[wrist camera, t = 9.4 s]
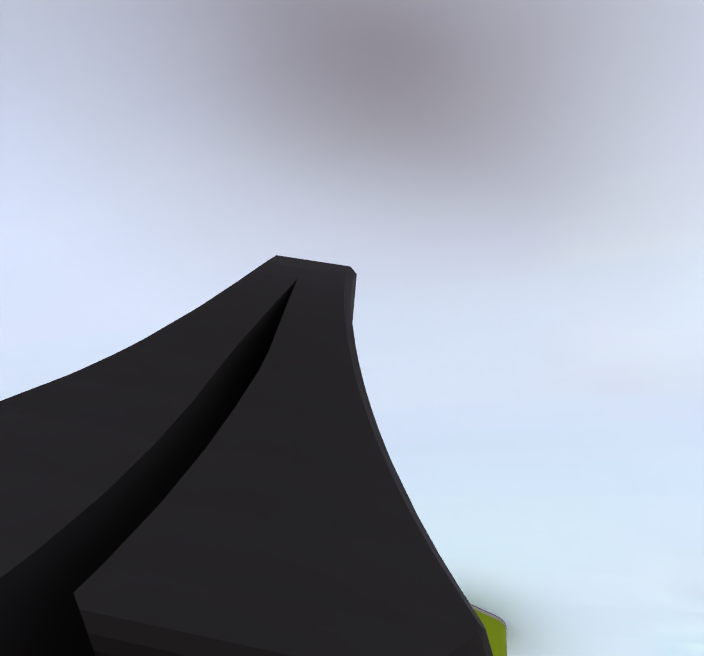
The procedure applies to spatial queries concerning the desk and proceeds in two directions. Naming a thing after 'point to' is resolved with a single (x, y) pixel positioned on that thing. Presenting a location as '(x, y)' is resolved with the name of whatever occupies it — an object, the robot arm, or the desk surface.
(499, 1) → the desk surface
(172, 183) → the desk surface
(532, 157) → the desk surface
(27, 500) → the robot arm
